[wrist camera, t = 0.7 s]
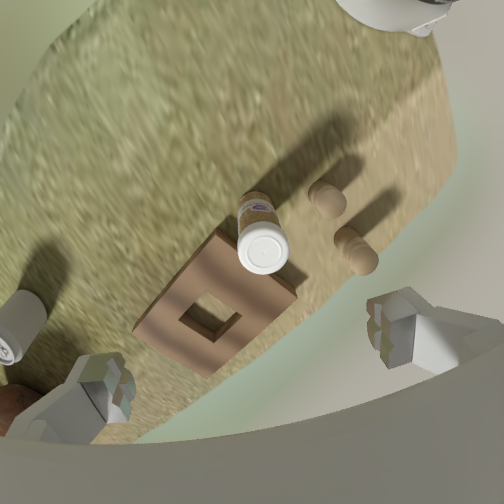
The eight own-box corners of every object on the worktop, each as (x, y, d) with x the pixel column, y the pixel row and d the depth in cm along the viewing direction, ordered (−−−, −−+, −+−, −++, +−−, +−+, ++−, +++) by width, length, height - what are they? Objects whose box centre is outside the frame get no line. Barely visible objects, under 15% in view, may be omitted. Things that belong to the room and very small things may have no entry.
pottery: (62, 440, 62) (37, 518, 39) (-11, 387, 54) (-50, 460, 31) (97, 412, 56) (68, 512, 33) (8, 345, 48) (-50, 437, 25)
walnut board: (216, 227, 41) (215, 234, 39) (294, 288, 46) (297, 298, 43) (135, 323, 47) (131, 333, 44) (207, 368, 51) (206, 379, 49)
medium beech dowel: (346, 221, 42) (367, 243, 35) (362, 237, 43) (383, 260, 36) (328, 239, 43) (346, 264, 36) (344, 254, 44) (363, 280, 37)
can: (26, 279, 43) (-12, 321, 32) (56, 312, 45) (24, 360, 34) (8, 299, 44) (-27, 340, 33) (36, 330, 47) (6, 375, 36)
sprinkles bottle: (269, 187, 39) (286, 223, 27) (275, 222, 41) (293, 271, 29) (232, 194, 40) (232, 233, 27) (239, 228, 41) (243, 280, 29)
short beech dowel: (321, 174, 39) (332, 183, 35) (339, 192, 40) (352, 203, 36) (302, 194, 40) (311, 205, 35) (321, 211, 41) (331, 224, 37)
